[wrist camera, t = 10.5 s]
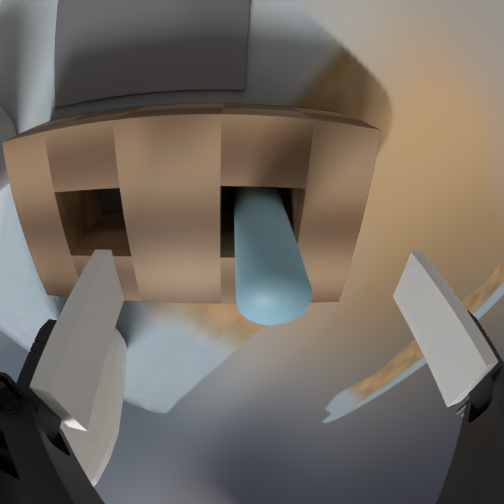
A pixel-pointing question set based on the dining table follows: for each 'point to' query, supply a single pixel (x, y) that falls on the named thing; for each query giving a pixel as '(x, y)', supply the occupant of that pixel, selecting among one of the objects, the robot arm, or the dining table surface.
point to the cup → (3, 129)
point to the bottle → (102, 414)
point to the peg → (267, 259)
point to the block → (188, 193)
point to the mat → (148, 47)
